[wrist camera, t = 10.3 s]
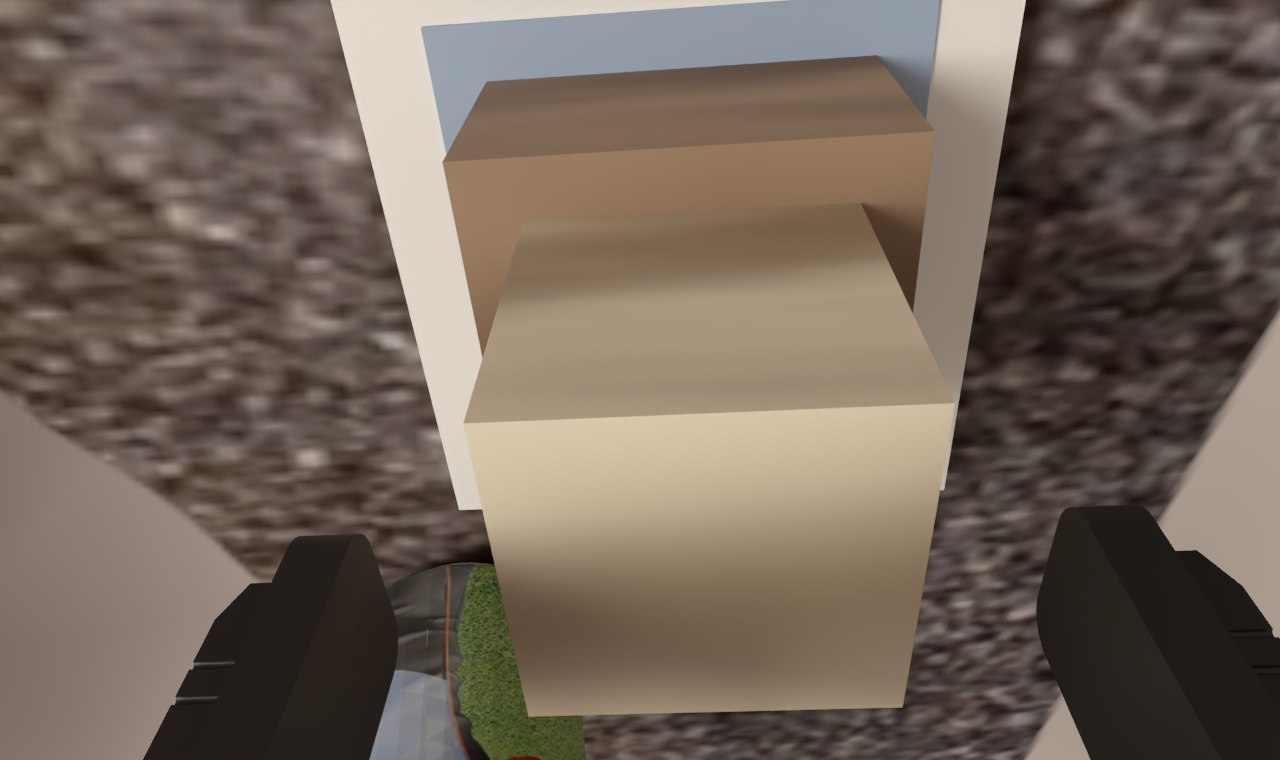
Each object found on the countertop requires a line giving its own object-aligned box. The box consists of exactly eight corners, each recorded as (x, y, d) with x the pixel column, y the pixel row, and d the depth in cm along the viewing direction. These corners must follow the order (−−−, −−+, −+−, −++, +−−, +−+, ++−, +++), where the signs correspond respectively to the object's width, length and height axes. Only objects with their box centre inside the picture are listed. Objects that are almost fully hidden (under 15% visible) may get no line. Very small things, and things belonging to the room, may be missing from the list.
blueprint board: (282, -281, 14) (256, -285, 13) (1059, -352, 13) (1088, -360, 12) (466, 483, 23) (458, 512, 22) (933, 463, 22) (945, 492, 21)
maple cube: (523, 220, 13) (462, 423, 9) (860, 202, 13) (955, 402, 9) (561, 474, 16) (529, 716, 12) (838, 463, 16) (902, 707, 12)
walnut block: (486, 81, 16) (442, 162, 13) (876, 55, 16) (935, 131, 12) (538, 394, 20) (515, 517, 17) (850, 380, 20) (889, 502, 16)
